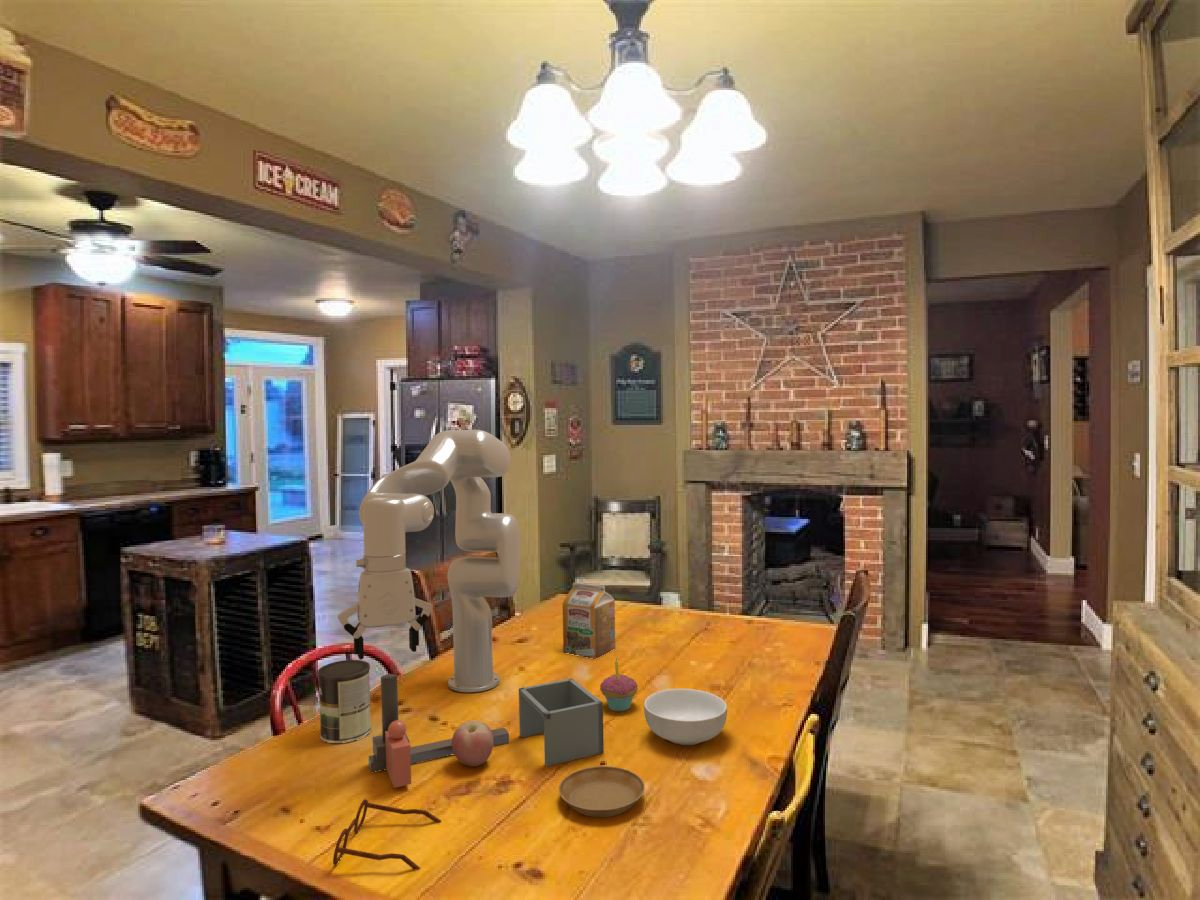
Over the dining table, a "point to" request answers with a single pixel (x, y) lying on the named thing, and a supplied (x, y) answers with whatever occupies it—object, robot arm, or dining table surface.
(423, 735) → the dining table surface
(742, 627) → the dining table surface
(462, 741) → the apple
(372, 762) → the rail
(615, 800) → the plant saucer
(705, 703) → the cereal bowl
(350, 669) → the coffee can
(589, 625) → the milk carton
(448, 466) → the robot arm
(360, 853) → the glasses
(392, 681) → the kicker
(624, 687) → the cupcake
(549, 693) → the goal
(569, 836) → the dining table surface
